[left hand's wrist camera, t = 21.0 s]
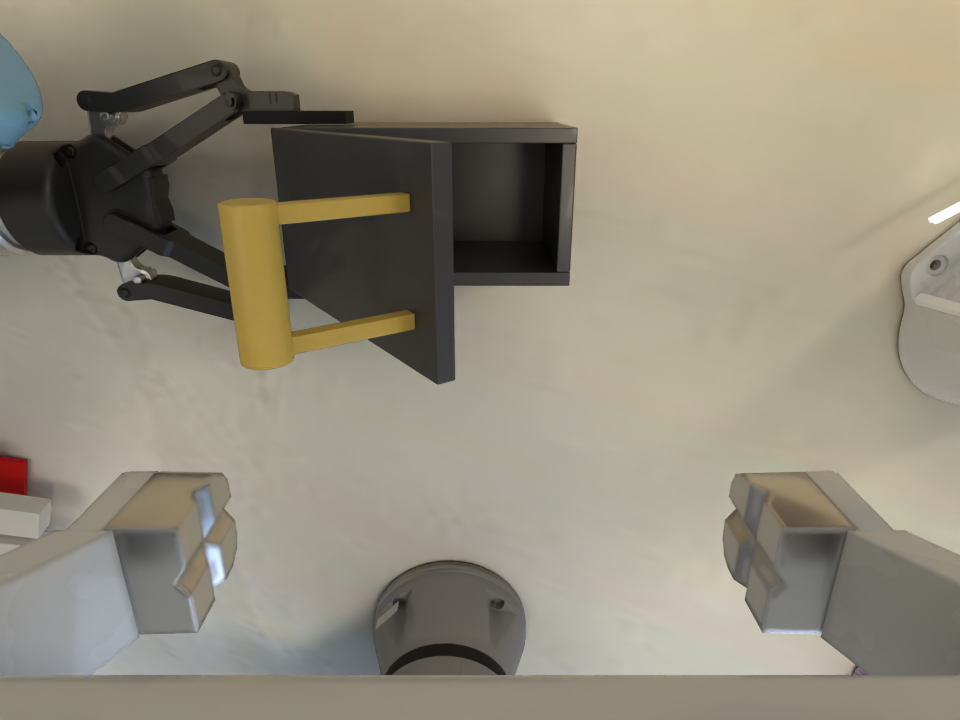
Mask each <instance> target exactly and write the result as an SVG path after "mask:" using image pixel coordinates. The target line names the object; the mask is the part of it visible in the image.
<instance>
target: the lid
mask: <svg viewBox="0 0 960 720" xmlns="http://www.w3.org/2000/svg"><path fill="white" fill-rule="evenodd" d="M271 135H272V144H273V153H274V162H275V171H276V180H277V189H278V198H279V202H276V200H274V199H269V198H238V199H229V200H224V201H220V202H218V204H217V207H218V214H219V221H220V227H221V234H222V241H223V248H224V254H225V261H226V268H227V275H228V282H229V288H230V295H231V302H232V309H233V315H234V322H235V329H236V336H237V343H238V349H239V356H240V363H241V365H242V366H243V367H245V368H248V369H253V370H268V369H274V368H279V367H282V366H285V365H287V364H289V363H291V362H292V361H293V359H294V354H299V353H303V352H308V351H313V350H318V349H322V348H327V347H332V346H337V345H341V344H346V343H351V342H356V341H361V340H365V339H368V340H369V341H371V342H372V343H374V344H375V345H377V346H379V347H380V348H382V349H383V350H385V351H386V352H388V353H389V354H391V355H392V356H394V357H396V358H397V359H399V360H400V361H402V362H403V363H405V364H406V365H408V366H409V367H411V368H413V369H414V370H416V371H417V372H419V373H420V374H422V375H423V376H425V377H426V378H428V379H430V380H431V381H433V382H434V383H436V384H442V383H446V382H449V381H453V380H455V339H454V272H453V204H452V143H451V142H445V141H433V140H422V139H410V138H398V137H387V136H375V135H363V134H352V133H340V132H328V131H316V130H305V129H293V128H271ZM279 225H282V233H283V242H284V251H285V260H286V269H287V278H288V287H289V289H290V290H292V291H293V292H295V293H297V294H298V295H300V296H301V297H303V298H304V299H306V300H307V301H309V302H310V303H312V304H314V305H315V306H317V307H318V308H320V309H321V310H323V311H324V312H326V313H328V314H329V315H331V316H332V317H334V318H335V319H337V320H338V321H340V322H341V323H336V324H330V325H325V326H320V327H315V328H309V329H304V330H299V331H294V332H291V324H290V315H289V306H288V297H287V289H286V280H285V271H284V262H283V253H282V245H281V236H280V227H279Z"/></svg>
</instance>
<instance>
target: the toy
mask: <svg viewBox="0 0 960 720" xmlns="http://www.w3.org/2000/svg"><path fill="white" fill-rule="evenodd" d="M50 516H51V499H47V498H40V497H33V496H27V460H26V459H17V458H8V457H0V555H2V554H4V553H6V552H9V551H11V550H13V549H15V548H17V547H20V546H22V545H24V544H26V543H29V542H31V541H33V540H35V539H38V538H40V537H42V536H44V535H46V534H49V533H50V532H45V530H46V528H47V527H48V526H49V524H50Z"/></svg>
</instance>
